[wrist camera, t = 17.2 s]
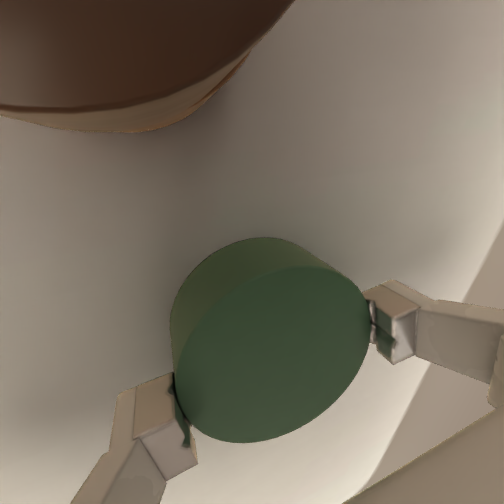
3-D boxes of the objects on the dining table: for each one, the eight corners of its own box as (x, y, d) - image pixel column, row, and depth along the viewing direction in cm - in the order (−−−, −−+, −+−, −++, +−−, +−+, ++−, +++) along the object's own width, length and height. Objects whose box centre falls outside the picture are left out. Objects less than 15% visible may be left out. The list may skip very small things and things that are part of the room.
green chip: (227, 204, 8) (255, 224, 6) (352, 276, 11) (404, 309, 9) (137, 362, 9) (131, 433, 7) (274, 393, 12) (303, 451, 10)
